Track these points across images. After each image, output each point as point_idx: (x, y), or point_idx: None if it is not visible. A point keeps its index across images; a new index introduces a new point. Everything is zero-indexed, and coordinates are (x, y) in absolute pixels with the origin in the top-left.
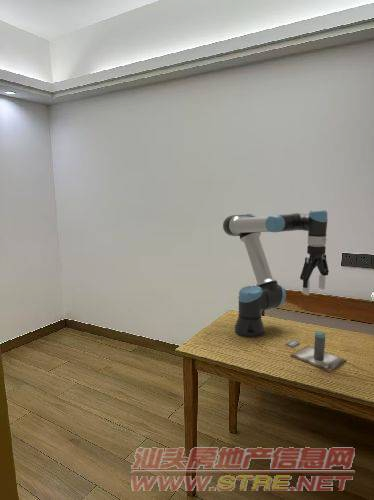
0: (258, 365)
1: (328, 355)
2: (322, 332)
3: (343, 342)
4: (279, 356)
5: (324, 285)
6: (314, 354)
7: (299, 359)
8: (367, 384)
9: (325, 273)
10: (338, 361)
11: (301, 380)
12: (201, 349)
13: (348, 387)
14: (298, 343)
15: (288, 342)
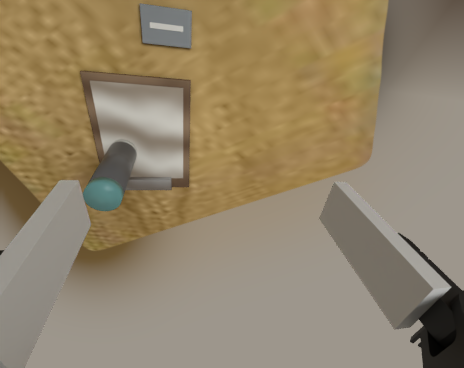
0: None
1: (174, 153)
2: (118, 197)
3: (289, 140)
4: (43, 38)
5: (337, 241)
6: (106, 152)
7: (88, 105)
8: (133, 237)
9: (433, 351)
10: (153, 188)
11: (6, 159)
12: None
13: None
14: (181, 46)
15: (158, 8)
